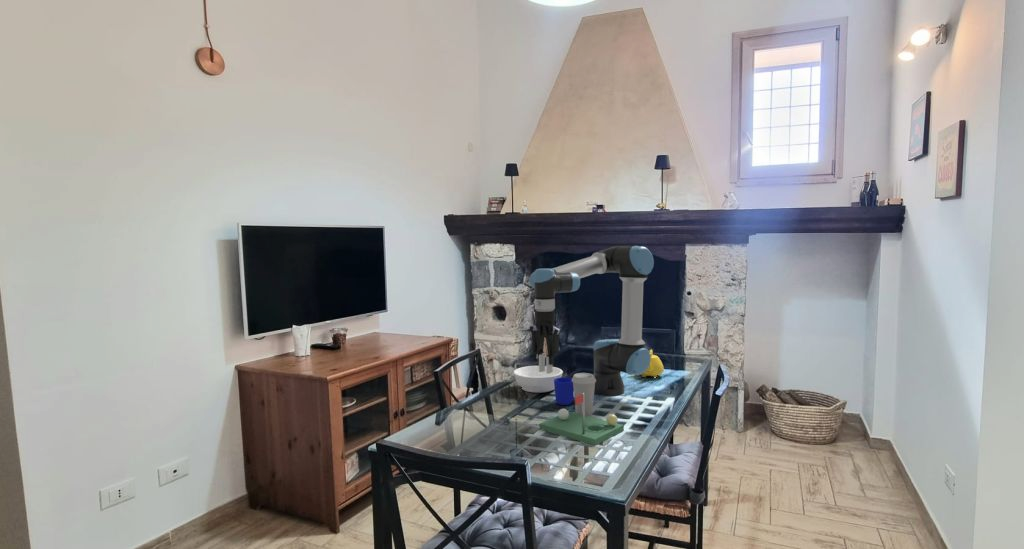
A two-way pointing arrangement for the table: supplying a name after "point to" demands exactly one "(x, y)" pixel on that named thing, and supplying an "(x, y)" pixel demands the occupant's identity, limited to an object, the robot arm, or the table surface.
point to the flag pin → (579, 400)
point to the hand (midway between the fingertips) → (545, 372)
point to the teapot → (654, 366)
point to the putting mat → (572, 428)
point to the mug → (564, 391)
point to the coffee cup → (584, 391)
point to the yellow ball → (611, 419)
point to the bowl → (536, 378)
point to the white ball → (563, 414)
